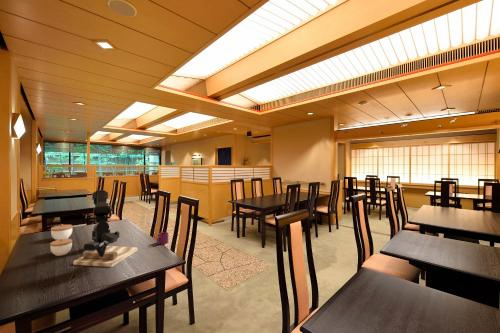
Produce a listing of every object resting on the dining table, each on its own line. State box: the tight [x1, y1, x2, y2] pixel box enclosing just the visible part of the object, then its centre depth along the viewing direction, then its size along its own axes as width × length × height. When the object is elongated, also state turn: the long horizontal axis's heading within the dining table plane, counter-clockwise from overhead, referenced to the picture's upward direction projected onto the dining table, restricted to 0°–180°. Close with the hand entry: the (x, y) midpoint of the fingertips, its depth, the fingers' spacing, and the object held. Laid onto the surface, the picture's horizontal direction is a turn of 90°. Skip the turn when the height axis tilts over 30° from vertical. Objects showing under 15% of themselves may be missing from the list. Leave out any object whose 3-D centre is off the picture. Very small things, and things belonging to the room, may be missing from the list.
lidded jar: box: [49, 238, 73, 257], centre depth 143 cm, size 11×11×9 cm
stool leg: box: [82, 250, 117, 260], centre depth 132 cm, size 20×3×3 cm, turn 84°
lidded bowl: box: [50, 223, 73, 241], centre depth 170 cm, size 13×13×11 cm
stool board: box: [73, 245, 139, 268], centre depth 139 cm, size 23×24×2 cm
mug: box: [156, 231, 169, 245], centre depth 162 cm, size 7×10×7 cm
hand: (101, 256), depth 126 cm, fingers closed
